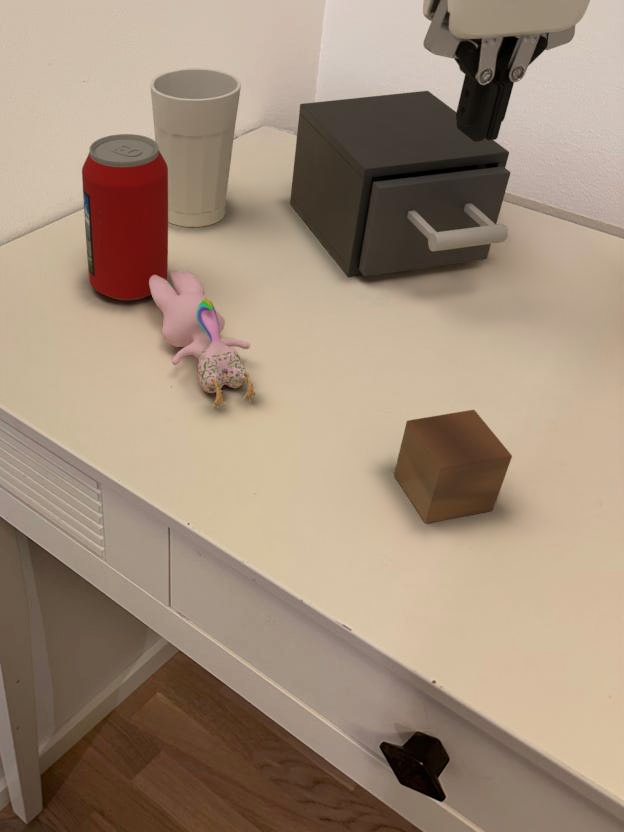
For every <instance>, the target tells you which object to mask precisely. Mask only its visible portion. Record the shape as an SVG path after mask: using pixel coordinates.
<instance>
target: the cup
mask: <svg viewBox="0 0 624 832" xmlns="http://www.w3.org/2000/svg"><path fill="white" fill-rule="evenodd" d="M149 84H150V85H149V87H150V98H151V107H152V108H151V109H152V119H153V129H154V141H155V142H157V144H158V146H159V151H160V153H161V155H162V157H163V158H164V160H165V162H166V164H167V167H168V224H169V223H170V224H172V225H175V226H179V227H186V228H200V227H207V226H211V225H213V224H216V223H218V222H220V221H221V220H222V219H223V218H224V217H225V216H226V207H227V193H228V185H229V178H230V171H231V162H232V154H233V146H234V138H235V131H236V130H235V129H236V123H237V118H238V117H237V115H238V109H239V102H240V96H241V89H242V83H241V80H240V79H239V78H238V77H237V76H235V75H233V74H231V73H229V72H225V71H222V70H217V69H210V68H200V67H199V68H195V67H193V68H181V69H174V70H169V71H166V72H163V73H161V74H159V75H156V76H155V77H153V79H151V81H150V83H149Z"/></svg>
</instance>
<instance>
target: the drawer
mask: <svg viewBox="0 0 624 832" xmlns="http://www.w3.org/2000/svg"><path fill="white" fill-rule="evenodd" d="M485 168H486V164H480V165H472V166H463V167H455V168H447V169H438V170H430V171H421V172H413V173H405V174H396V175H388V176H379V177H372V184H371V190H370V196H369V202H368V208H367V214H366V220H365V226H364V232H363V238H362V244H361V250H360V256H359V257H360V264H359V271H360V272H361V273H362V274H363V275H362V276H363V277H367V276H368V277H369V276H375V275H382V274H390V273H397V272H404V271H410V270H418V269H426V268H434V267H440V266H441V267H442V266H447V265H455V264H461V263H462V264H463V263H471V262H476V261H485V260H487V259H488V256H489V253H490V250H491V245H492V244H499V243H505V242H506V241H507V239H508V237H509V229H508V226H507V225H506V224H505V223H498V220H499V216H500V213H501V209H502V206H503V202H504V199H505V194H506V191H507V187H508V183H509V181H510V176H511V170H508V169H507V168H506V167H495V168H487V169H485Z"/></svg>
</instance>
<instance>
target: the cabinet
mask: <svg viewBox="0 0 624 832" xmlns="http://www.w3.org/2000/svg"><path fill="white" fill-rule="evenodd" d="M456 112H457V111H455V110H454V109H453V108H452V107H451V106H449V105H447V104H446V103H445V102H444V101H443V100H441V99H440V98H438V97H437V96H436V95H434V94H433V93H432V92H431V91H429V90H422V91H421V90H420V91H412V92H403V93H402V92H401V93H393V94H392V93H391V94H383V95H372V96H364V97H354V98H344V99H334V100H325V101H314V102H305V103H300V104H299V112H298V113H299V114H298V121H297V132H296V141H295V142H296V143H295V150H294V151H295V152H294V160H293V161H294V162H293V171H292V181H291V190H290V200H289V204H290V206H292V208H293V209H294V211H295V212H296V213H297V214H298V215H299V217H300V218H301V220H303V222H304V223H305V224H306V225H307V227H308V228H309V230H310V231H311V232H312V233H313V235H314V236H315V237H316V238H317V240H318V241H319V243H321V245H322V246H323V247H324V248H325V250H326V251H327V252H328V254H330V256H331V258H333V260H334V262H336V263H337V265H338V266H339V267H340V269H341V270H342V271H343V272H344V274H345V275H346V276H347V277H355V276H364V275H363V274H362V273H361V272H360V271H359V264H360V257H359V256H360V250H361V244H362V238H363V232H364V226H365V220H366V214H367V208H368V202H369V196H370V190H371V184H372V177H379V176H388V175H396V174H405V173H413V172H421V171H430V170H438V169H447V168H455V167H463V166H472V165H480V164H486V168H485V169H487V168H495V167H505V168H506V166H507V163H508V160H509V155H510V151H509V150H507V149H506V148H505V147H503V146H502V145H501V144H499V143H498V142H497V141H496V140H487V139H484V140H483V141H478V142H474V141H473V140H472V139H470V138H469V137H468V136H466V135H465V134H464V133H463V132H461V131H460V130H459V129H458V128H457V120H456Z"/></svg>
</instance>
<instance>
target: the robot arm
mask: <svg viewBox="0 0 624 832" xmlns="http://www.w3.org/2000/svg"><path fill="white" fill-rule="evenodd" d="M590 1H591V0H423V2H422V14H423V16H424V17H425V18H426V19H427V20H429V21H430V24H429V26H428V29H427V31H426V34H425V36H424V39H423V48H424V49H425V50H427V51H428V52H430V53H431V54H432V55H435V56H439V57H445V58H449V59H453V60H454V61H455V62H456V63H457V65H458V67H459V71H460V72H461V73H463V74H464V78H463V83H462V87H461V91H460V95H459V99H458V104H457V109H456V111H455V112H456V120H457V128H458V129H459V130H460V131H461V132H463V133H464V134H465V135H466V136H468V137H469V138H470V139H472V140H473V141H474V142H478V141H483V140H484V139H487V140H494V141H496V140H497V139H498V137H499V133H500V130H501V126H502V123H503V122H504V120H505V118H506V114H507V110H508V107H509V103H510V98H511V95H512V92H513V88H514V84H515V83H518V82H520V81H521V80H522V79H523V78H524V77H525V75H526V72H527V70H528V67H530V65H531V64H533V62H534V61H535V60H536V59H538V58H539V57H540V55H542V54H543V53H544V52H545V51H549V50H552V49H555V48H558V47H560V46H564V45H566V44H569V43H570V42H571V41H572V40H573V39H574V37H575V34H576V25H577V24H579V22H581V20H582V19H583V18H584V16H585V14H586V11H587V10H588V7H589V4H590Z"/></svg>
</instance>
